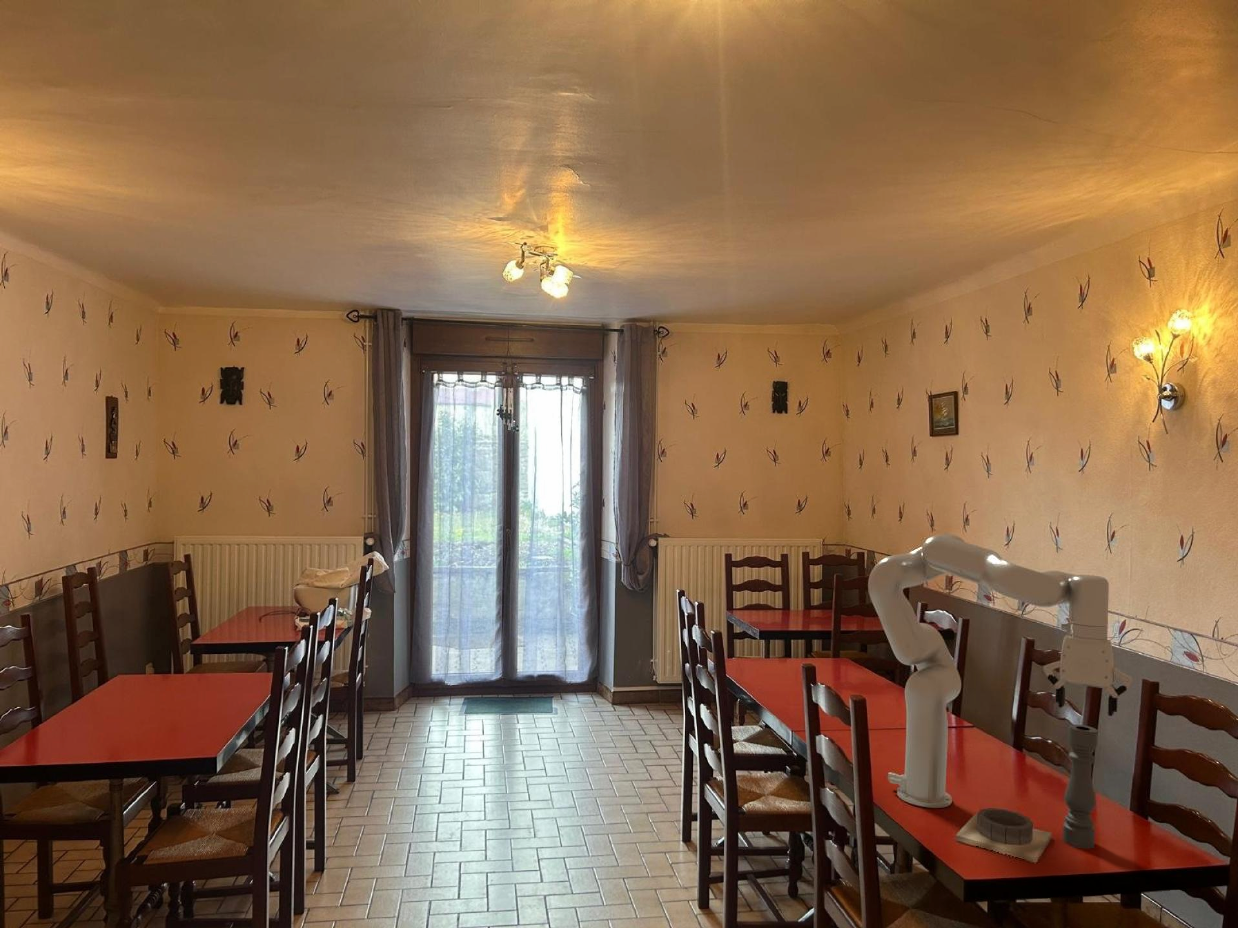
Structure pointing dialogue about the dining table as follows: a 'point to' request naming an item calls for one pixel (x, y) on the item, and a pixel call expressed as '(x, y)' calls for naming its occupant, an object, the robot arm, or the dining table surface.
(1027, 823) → the collar base
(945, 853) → the dining table surface
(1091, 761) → the dark grey pepper mill
